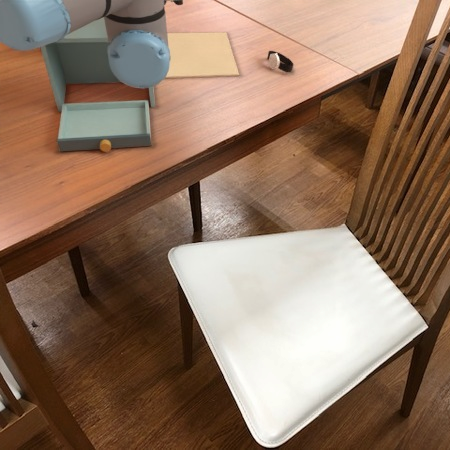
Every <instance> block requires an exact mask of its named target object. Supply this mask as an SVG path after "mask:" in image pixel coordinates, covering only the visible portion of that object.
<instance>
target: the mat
mask: <svg viewBox="0 0 450 450" xmlns="http://www.w3.org/2000/svg"><path fill="white" fill-rule="evenodd" d="M167 36H168V46H169V50H170V56H171V59H170V61H169V62H170V66H169V71H168V73H167V75H166V77H165V78H164V79H181V78H182V79H186V78H214V77H239V76H240V73H239V70H238V66H237V63H236V59H235V57H234V52H233V49H232V47H231V43H230V40H229V36H228V33H227V32H220V31H219V32H218V31H217V32H216V31H215V32H167Z"/></svg>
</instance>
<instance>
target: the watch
mask: <svg viewBox="0 0 450 450" xmlns="http://www.w3.org/2000/svg"><path fill="white" fill-rule="evenodd" d="M266 59H267V61H268V65H269V67H270V68H271V69H272V70H277V69H279V70H280V71H282V72H284V73H292V70H293V68H294V62H293V61H292V60H291V59H290V58H289V57H287V56H286V55H284V54H282V53H280V52H278V51H274V50H269V51H268V52H267V58H266Z"/></svg>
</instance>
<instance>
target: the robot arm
mask: <svg viewBox="0 0 450 450" xmlns="http://www.w3.org/2000/svg"><path fill="white" fill-rule="evenodd" d="M167 2H171V3H174V4H175V5H176V6H182V5H183V4H184V0H0V43H1V44H3V45H4V46H6V47H8V48H10V49H12V50H15V51H20V52H29V51H33V50H36V49H39V48H40V47H42V46H45V45H47V44H50V43H53V42H58V41H59V40H62V39H64V38H65V36H66V35H68V34H70V33H72V32H74V31H76V30H78V29H80V28H81V27H83V26H85V25H87V24H89V23H91V22H93V21H95V20H99V19H100V18H103V17H104V21H105V26H106V32H107V37H108V47H107V54H108V58H109V65H110V68H111V70H112V72H113V74H114V75H115V76H116V77H117V78H118V79H119V80H120V81H121V82H120V83H122V84H124V85H126V86H129V87H131V88H135V89H149V87H153V86H154V87H155V86H157V85H159V84H161V82H163V80H164V79H166V78H165V77H166V75H167V73H168V71H169V66H170V62H169V61H170V59H171V56H170V50H169V46H168V36H167V33H168V27H167V26H168V25H167V15H166V10H165V9H166V8H165V6H166V4H167Z"/></svg>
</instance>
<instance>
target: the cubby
mask: <svg viewBox="0 0 450 450" xmlns="http://www.w3.org/2000/svg"><path fill="white" fill-rule="evenodd" d="M107 47H108V37H107V32H106V26H105V21H104V17H103V18H100V19H99V20H95V21H93V22H91V23H89V24H87V25H85V26H83V27H81V28H80V29H78V30H76V31H74V32H72V33H70V34H68V35H66V36H65V38H64V39H62V40H59V41H58V42H53V43H50V44H47V45H45V46H42V47H39V48H40V51H41V55H42V58H43V61H44V65H45V68H46V73H47V76H48V80H49V83H50V86H51V91H52V93H53V97H54V102H55V104H56V108H57V111H58V112H62V105H63V104H65V98H66V91H67V85H77V84H79V85H81V84H106V83H107V84H109V83H122V82H121V81H120V80H119V79H118V78H117V77H116V76H115V75H114V74H113V72H112V70H111V68H110V65H109V58H108V54H107ZM154 88H155V86H153V87H149V88H148V94H149V102H150V103H149V104H150V108H156V99H155V89H154Z"/></svg>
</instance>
